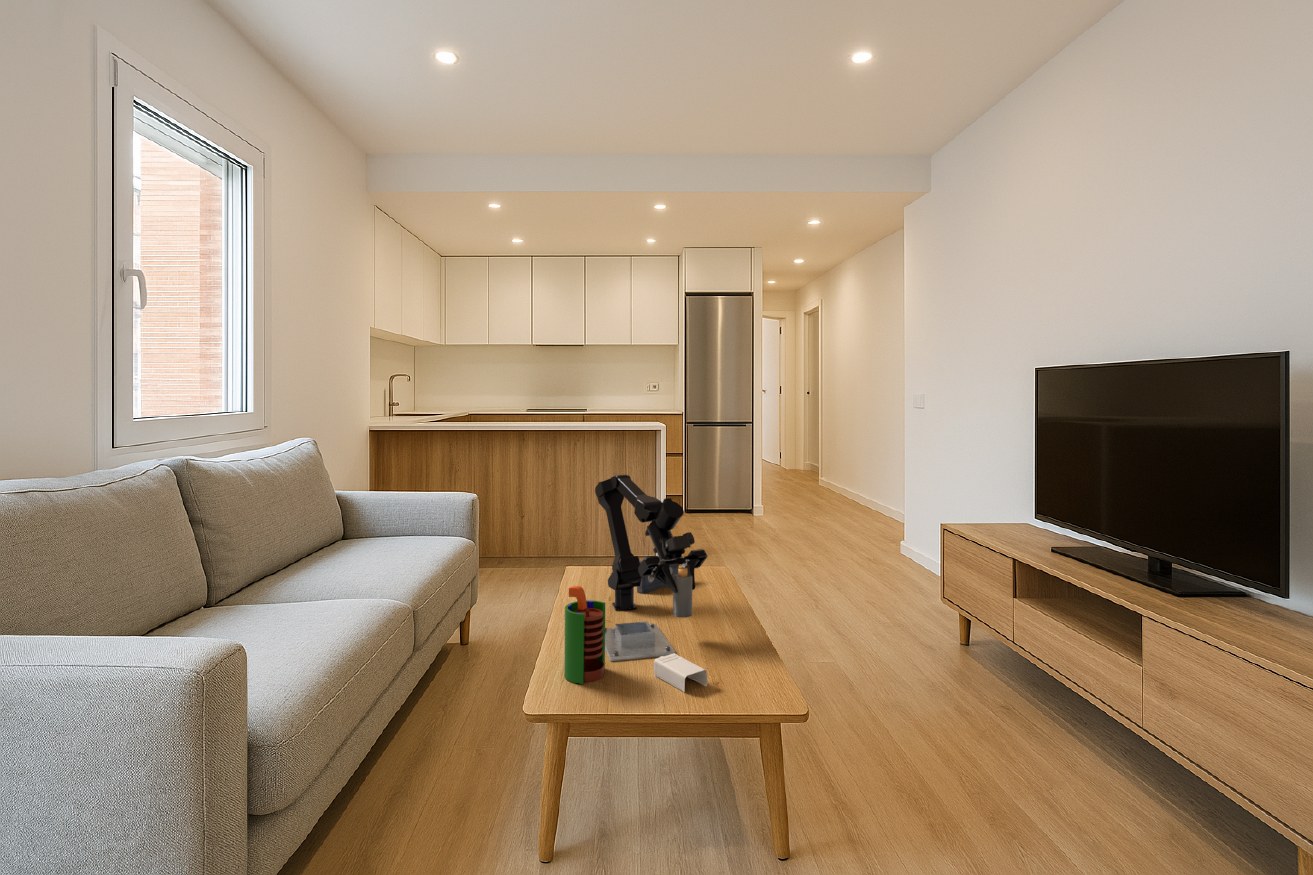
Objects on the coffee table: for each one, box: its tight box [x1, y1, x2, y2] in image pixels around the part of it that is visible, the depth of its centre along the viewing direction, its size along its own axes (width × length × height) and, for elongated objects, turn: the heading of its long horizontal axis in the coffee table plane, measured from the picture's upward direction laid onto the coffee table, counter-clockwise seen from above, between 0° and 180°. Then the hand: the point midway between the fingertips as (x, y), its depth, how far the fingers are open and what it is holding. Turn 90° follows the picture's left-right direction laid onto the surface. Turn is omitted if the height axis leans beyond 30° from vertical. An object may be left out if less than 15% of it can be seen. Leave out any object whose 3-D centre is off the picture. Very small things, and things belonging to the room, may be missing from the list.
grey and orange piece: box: [672, 566, 693, 618], centre depth 170 cm, size 5×5×12 cm
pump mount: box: [605, 621, 676, 662], centre depth 169 cm, size 20×16×4 cm
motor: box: [563, 585, 606, 685], centre depth 149 cm, size 10×9×20 cm
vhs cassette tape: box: [636, 558, 680, 595], centre depth 219 cm, size 18×3×10 cm, turn 136°
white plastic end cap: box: [653, 652, 708, 693], centre depth 147 cm, size 6×13×4 cm, turn 36°
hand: (685, 590), depth 169 cm, fingers closed on grey and orange piece, 5 cm apart
